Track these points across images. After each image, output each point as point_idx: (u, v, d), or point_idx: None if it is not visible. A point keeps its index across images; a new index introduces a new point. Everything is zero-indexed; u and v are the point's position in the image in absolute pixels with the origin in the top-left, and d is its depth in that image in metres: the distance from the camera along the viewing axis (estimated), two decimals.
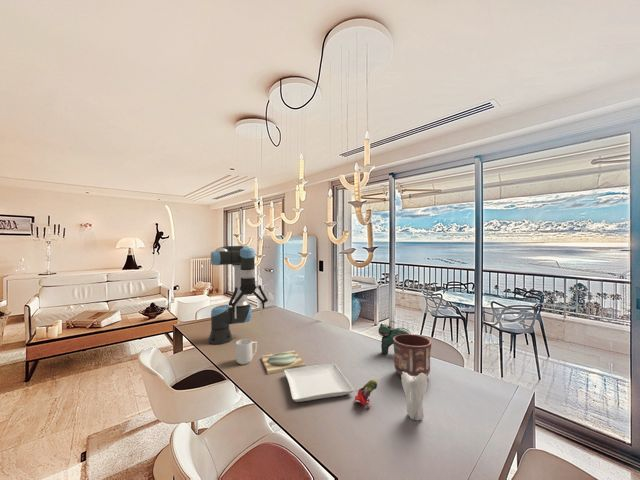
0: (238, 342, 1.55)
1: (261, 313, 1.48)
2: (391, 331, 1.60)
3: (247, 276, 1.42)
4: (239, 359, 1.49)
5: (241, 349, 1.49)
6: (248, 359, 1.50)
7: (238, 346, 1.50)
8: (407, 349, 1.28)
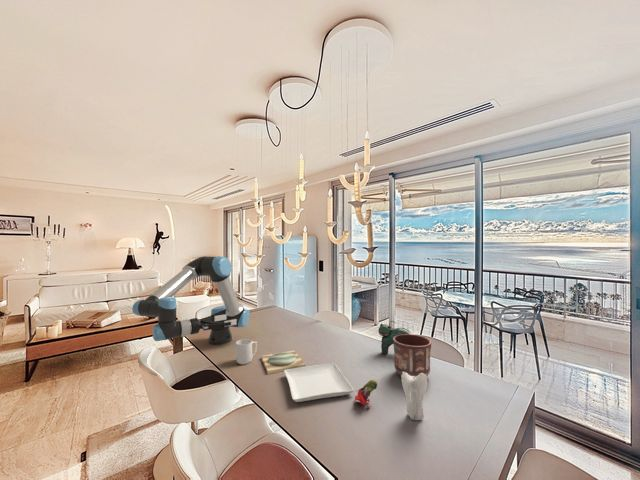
0: (238, 342, 1.55)
1: (234, 324, 1.43)
2: (391, 331, 1.60)
3: None
4: (239, 359, 1.49)
5: (241, 349, 1.49)
6: (248, 359, 1.50)
7: (238, 346, 1.50)
8: (407, 349, 1.28)
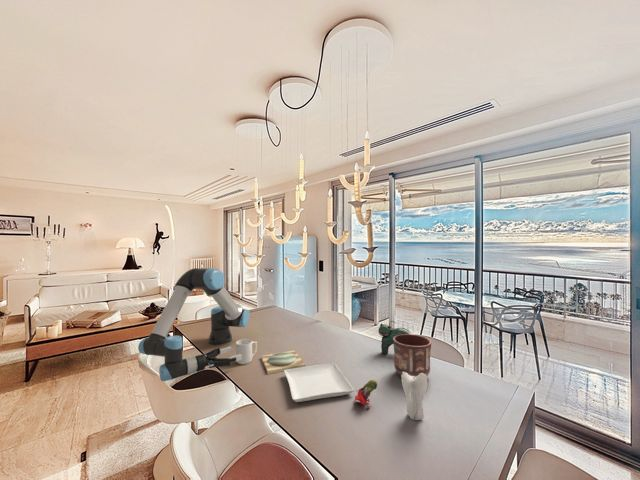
0: (238, 342, 1.55)
1: (239, 359, 1.44)
2: (391, 331, 1.59)
3: None
4: None
5: (241, 349, 1.49)
6: (248, 359, 1.50)
7: (238, 346, 1.50)
8: (407, 349, 1.28)
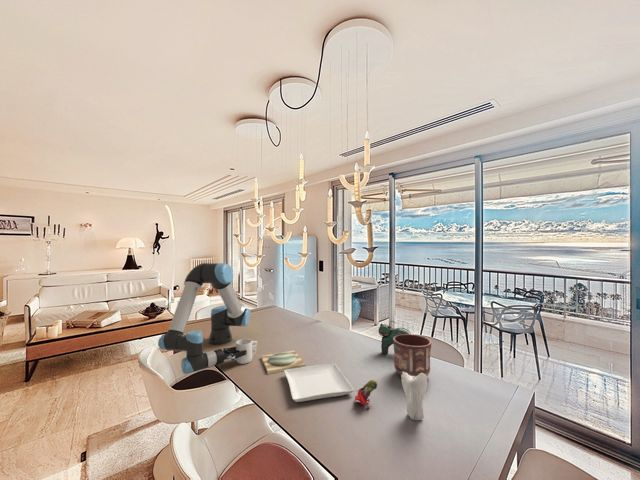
0: (238, 342, 1.55)
1: (254, 349, 1.57)
2: (391, 331, 1.60)
3: None
4: (239, 359, 1.49)
5: (241, 349, 1.49)
6: (248, 358, 1.50)
7: (238, 346, 1.50)
8: (407, 349, 1.28)
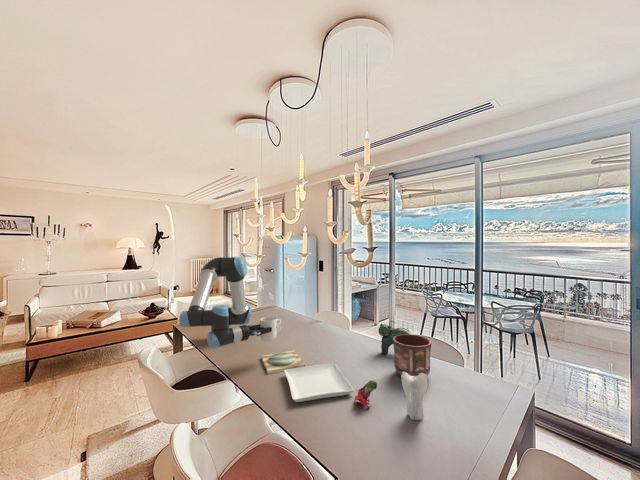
0: (262, 319, 1.52)
1: (279, 327, 1.53)
2: (391, 331, 1.59)
3: None
4: (264, 336, 1.46)
5: (266, 325, 1.46)
6: (273, 336, 1.47)
7: (263, 322, 1.46)
8: (407, 349, 1.28)
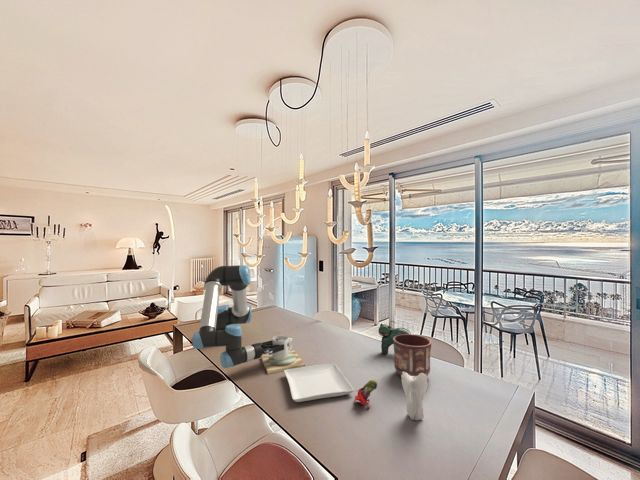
0: (274, 338, 1.53)
1: (290, 345, 1.53)
2: (391, 331, 1.60)
3: None
4: (276, 355, 1.47)
5: None
6: (285, 355, 1.48)
7: (275, 342, 1.48)
8: (407, 349, 1.28)
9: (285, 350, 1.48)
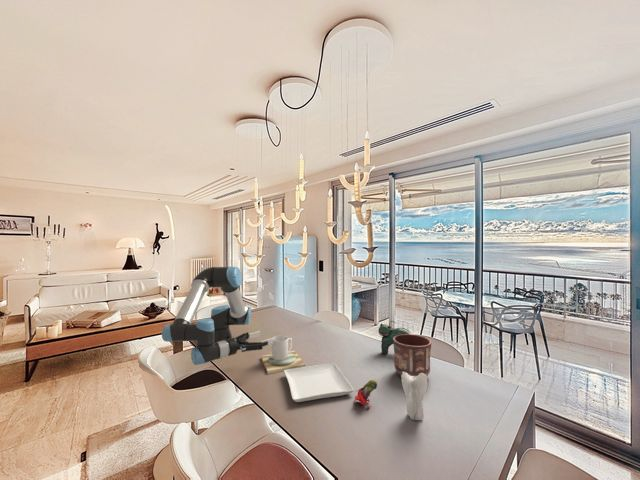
0: (273, 338, 1.53)
1: None
2: (391, 331, 1.60)
3: None
4: (276, 356, 1.47)
5: (278, 345, 1.47)
6: (284, 355, 1.48)
7: (275, 342, 1.47)
8: (407, 349, 1.28)
9: (285, 350, 1.48)
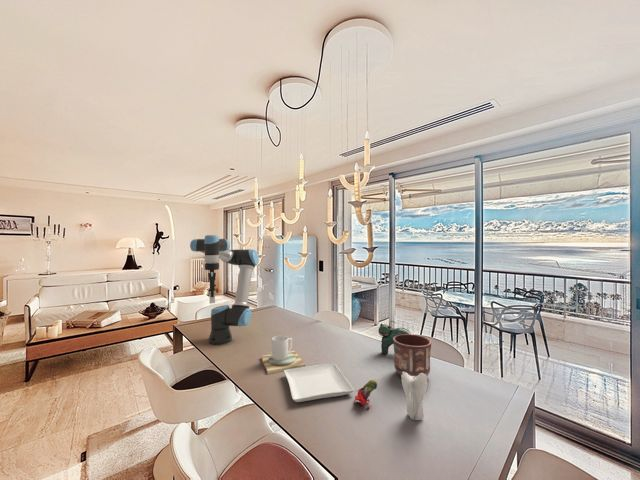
0: (273, 338, 1.53)
1: None
2: (391, 331, 1.60)
3: None
4: (276, 356, 1.47)
5: (278, 345, 1.47)
6: (284, 355, 1.48)
7: (275, 342, 1.47)
8: (407, 349, 1.28)
9: (285, 350, 1.48)
